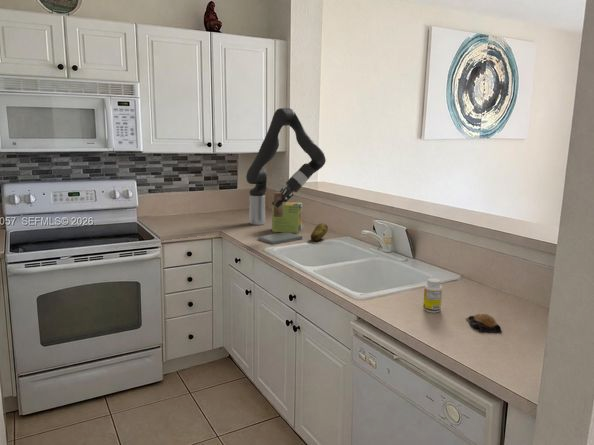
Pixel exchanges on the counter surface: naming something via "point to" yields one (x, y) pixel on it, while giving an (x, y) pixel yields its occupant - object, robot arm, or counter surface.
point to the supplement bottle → (432, 295)
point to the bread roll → (484, 324)
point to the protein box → (288, 218)
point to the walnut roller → (279, 211)
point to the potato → (319, 232)
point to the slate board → (280, 238)
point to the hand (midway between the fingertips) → (274, 205)
